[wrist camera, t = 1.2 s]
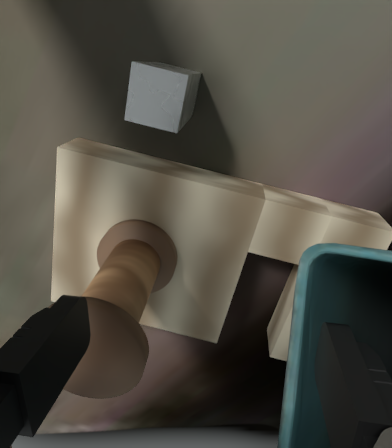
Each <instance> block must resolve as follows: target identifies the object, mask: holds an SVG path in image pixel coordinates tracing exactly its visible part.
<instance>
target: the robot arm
mask: <svg viewBox="0 0 392 448" xmlns="http://www.w3.org/2000/svg"><path fill="white" fill-rule="evenodd" d="M90 336H91V332H90V323H89V314H88V305H87V300H86V298H85V297H81V296H71V295H62V296H61V297H60V298H59V299H58V300H57V301H56V302H55V303H54V304H53V305H52V306H51V307H50V308H44V309H43V310H41V311H39V312H37V313H36V314H34V315H32V316H31V317H30V318H29V319H28V320H27V321H26V322H25V323H24V324H23V325H22V326H21V329H19V330H18V331H17V332H16V333H15V334H14V335H13V337H12V338H10V339H9V340H8V341H7V342H6V343H5V344H4V345H3V346H2V347H1V348H0V448H12V446H11V445H12V443H13V442H14V440H15V439H16V437H17V436H18V435H22V436H29V437H33V436H34V435H35V433H36V432H37V430H38V428H39V427H40V425H41V424H42V422H43V420H44V419H45V417H46V415H47V414H48V412H49V411H50V409H51V407H52V406H53V404H54V403H55V401H56V399H57V398H58V396H59V394H60V393H61V391H62V390H63V388H64V386H65V385H66V383H67V382H68V380H69V378H70V377H71V375H72V374H73V372H74V370H75V369H76V367H77V365H78V364H79V362H80V361H81V359H82V357H83V356H84V354H85V353H86V351H87V349H88V346H89V343H90ZM386 371H387V370H386V368H385V366H384V364H383V362H382V360H381V358H380V356H379V355H378V354H377V353H376V352H375V351H374V350H373V349H372V348H371V347H370V346H369V345H368V344H367V343H361V342H356V340H355V338H354V335H353V333H352V331H351V328H350V326H349V325H347V324H338V323H328V322H323V323H322V326H321V330H320V335H319V341H318V346H317V351H316V356H315V364H314V372H315V380H316V385H317V389H318V393H319V398H320V402H321V406H322V411H323V415H324V419H325V423H326V428H327V432H328V436H329V440H330V445H331V448H392V380H391V378H390V376H389V374H388V373H387V372H386Z"/></svg>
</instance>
